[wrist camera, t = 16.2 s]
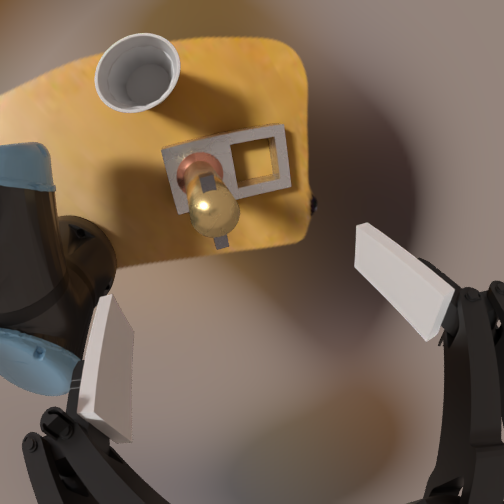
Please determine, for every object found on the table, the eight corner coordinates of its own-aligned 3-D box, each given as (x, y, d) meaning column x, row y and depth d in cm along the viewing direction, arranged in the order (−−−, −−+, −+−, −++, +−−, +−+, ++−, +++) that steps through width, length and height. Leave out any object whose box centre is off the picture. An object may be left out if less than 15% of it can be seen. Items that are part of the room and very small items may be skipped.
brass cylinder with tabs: (178, 156, 31) (181, 183, 20) (210, 148, 32) (232, 170, 20) (190, 203, 35) (200, 255, 23) (219, 195, 35) (245, 242, 24)
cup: (189, 92, 31) (196, 81, 20) (137, 125, 31) (120, 130, 21) (161, 47, 26) (156, 18, 16) (109, 80, 26) (81, 67, 16)
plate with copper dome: (177, 207, 38) (178, 215, 35) (162, 147, 33) (161, 150, 30) (283, 181, 40) (291, 187, 38) (275, 123, 36) (284, 124, 33)
